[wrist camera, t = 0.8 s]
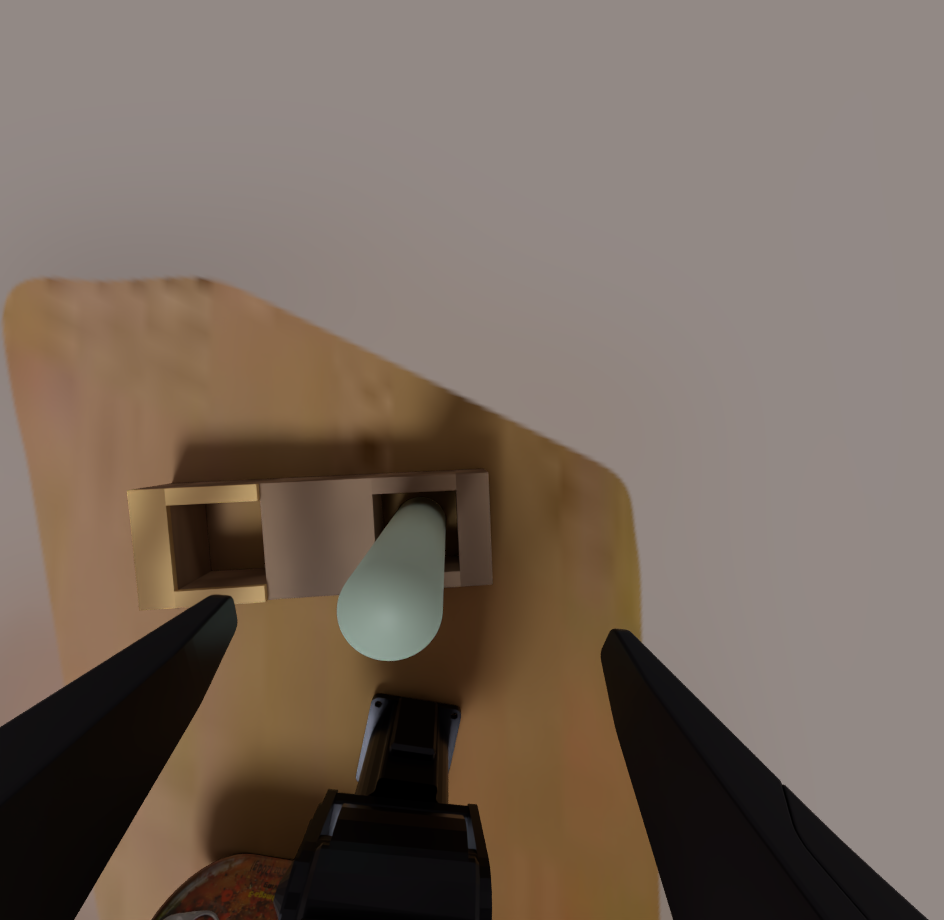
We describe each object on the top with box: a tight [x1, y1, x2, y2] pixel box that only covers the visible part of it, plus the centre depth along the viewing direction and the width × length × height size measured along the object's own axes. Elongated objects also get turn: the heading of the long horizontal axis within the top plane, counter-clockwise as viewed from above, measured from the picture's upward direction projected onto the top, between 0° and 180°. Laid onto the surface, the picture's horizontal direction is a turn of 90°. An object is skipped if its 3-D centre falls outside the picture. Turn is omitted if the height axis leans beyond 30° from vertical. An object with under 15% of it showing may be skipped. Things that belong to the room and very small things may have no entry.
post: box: [337, 497, 446, 661], centre depth 19 cm, size 4×4×13 cm
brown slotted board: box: [127, 469, 493, 611], centre depth 23 cm, size 21×7×3 cm, turn 93°
